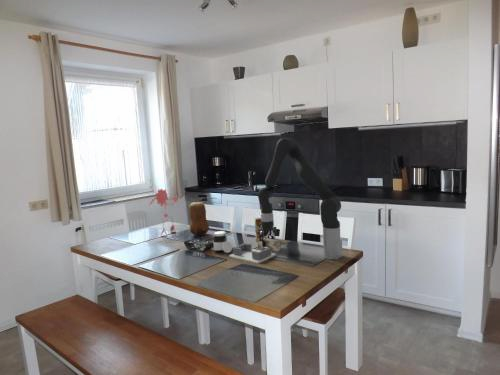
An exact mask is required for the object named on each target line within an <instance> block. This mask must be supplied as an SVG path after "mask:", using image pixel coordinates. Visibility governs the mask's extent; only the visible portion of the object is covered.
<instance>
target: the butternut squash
mask: <svg viewBox="0 0 500 375" xmlns="http://www.w3.org/2000/svg"><path fill="white" fill-rule="evenodd" d="M188 209H189V210H188V211H189V218H190V224H189V229H190V233H191V234H193V235H194V236H199V237H203V236H205V235H206V234H207V233H208V232H209V231H210V224H209V222H208V220H207V209H206V205H205V203H204V202H202V201H199V202H197V201H195V202H191V203H190V204H189V207H188Z"/></svg>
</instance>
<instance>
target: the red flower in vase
mask: <svg viewBox="0 0 500 375" xmlns="http://www.w3.org/2000/svg"><path fill="white" fill-rule="evenodd" d="M178 199H179V196H178V195H177V194H176V195H175V196H173V202H172V203H167V201H169V198H168V193H167V189H163V188H160V189H158V190H157V192H156V193H155V197H153V199H152V200H151V201H150V202H149V204H148V205H149V206H150V205H151V204H153V202H155V200H156V201H157V204H159V206H160V207H163V206H164V208H166V207H167V205H170V206H174V203H175V202H177V201H178ZM167 217H169V218H171V223H172V224H171V226H170V228H169V229H170V232H173V231H174V233H175V232H176V229H175V225H174V223H173V222H174V221H173V219H174V218H173V216H170V215H168V214H167V213H164V214H163V217H162V221H164V219H165V218H167ZM163 233H165V236H168V234H167V232H166V229H165V226H164V223H162V231H161V232H160V236H162V235H163ZM176 233H177V232H176Z"/></svg>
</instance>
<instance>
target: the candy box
mask: <svg viewBox="0 0 500 375" xmlns="http://www.w3.org/2000/svg"><path fill="white" fill-rule="evenodd" d="M254 228H255V230H254V231H255V242H258V239H259V231H263V228H262V225H261V217H254ZM264 236H265V235H264ZM261 238H262V237H261ZM268 238H269V239H270V236H268Z"/></svg>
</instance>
